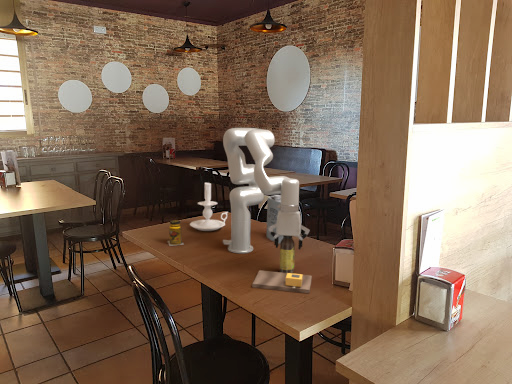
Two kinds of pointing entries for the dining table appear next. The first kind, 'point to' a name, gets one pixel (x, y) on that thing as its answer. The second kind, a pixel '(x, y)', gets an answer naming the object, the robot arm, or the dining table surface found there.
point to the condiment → (175, 233)
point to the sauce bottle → (287, 255)
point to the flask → (273, 215)
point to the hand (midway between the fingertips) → (288, 247)
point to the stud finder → (294, 279)
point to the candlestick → (208, 214)
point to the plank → (280, 282)
